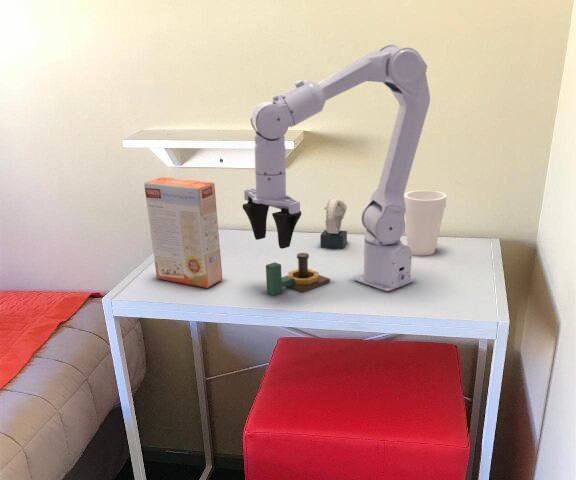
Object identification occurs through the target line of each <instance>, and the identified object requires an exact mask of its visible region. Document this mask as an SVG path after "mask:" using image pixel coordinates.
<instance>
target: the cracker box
mask: <svg viewBox="0 0 576 480" xmlns="http://www.w3.org/2000/svg"><path fill="white" fill-rule="evenodd" d="M143 185H144V192H145V193H144V194H145V200H146V208H147V215H148V222H149V229H150V238H151V245H152V246H151V247H152V252H153V253H152V254H153V259H154V267H155V273H156V278H157V279H158V280H164V281H169V282H172V283H173V282H174V283H179V284H185V285H190V286H194V287H199V288H205V289H209V288H210V287H212V286H214V285H215V284H218V283H220V282H221V281H223V267H222V255H221V248H220V247H221V246H220V245H221V244H220V234H219V233H220V232H219V222H218V210H217V199H216V187H215V182H212V181H201V180H191V179H182V178H173V177H172V178H171V177H163V176H162V177H157V178H153V179H151V180H148V181H145V182H144V183H143Z"/></svg>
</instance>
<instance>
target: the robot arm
mask: <svg viewBox="0 0 576 480" xmlns="http://www.w3.org/2000/svg"><path fill="white" fill-rule="evenodd" d="M427 71H428V65H427V63H426V61H425V60H424V58H423V57H422V55H421V54H420V53H419V51H417V49H415V48H413V47H410V46H407V47H406V46H404V47H402V46H397V45H394V44H387V45H384V46H383V47H381V48H380V49H379V50H378V49H376V50H373V51H370V52H368V53H366V54H365V55H363V56H361V57H360V58H357V59H356V60H355V61H353V62H351V63H349V64H348V65H346V66H345V67H343V68H341V69H340V70H338V71H336V72H334V73H333V74H331V75H329V76H328V77H326V78H324V79H323V80H321V81H319V82H315V81H312V80H310V79H308V80H305V81H304V80H302V79H300V80H298V81H296V82H295V83H294V85H295V87H293V88H291V89H289V90H287V91H285V92H284V93H282V94H280V95H278V94H274V95H272V96H271V100H272V102H271V101H263V102H261V103H259V104H257V105H256V106H255V108H254V110H253V111H252V114H251V117H250V119H249V120H250V125H251V127H252V129H253V130H254V131H255V132H254V169H255V170H254V174H255V175H254V176H255V188H248V189H244V190H243V192H244V193H243V195H244V197H243V198H244V201H247V203H243V204H242V209H243V211H244V213H245V214H246V216H247V218H248V221H249V223H250V226H251V230H252V233H253V236H254V239H255V240H257V241H258V240H259V241H260V240H262V239H265V238H266V236H267V221H268V213H269V209H270V207H272V208H275V209H279V210H280V211H275V212H272V213H271V215H272V218H273V221H274V223H275V226H276V232H277V242H278V247H279V249H281V250H283V249H287V248H290V246H291V243H292V238H293V234H294V231H295V228H296V226H297V223H298V222H299V220H300V218H301V216H302V211H301V202H300V201H297V200H295V199H294V198H292V197H290V196H289V195H288V194H287V168H286V167H287V166H286V165H287V163H286V160H287V159H286V146H285V145H286V144H285V143H286V142H285V141H286V140H285V136H286V134H287V132H288V131H289V128H293V127H295V126H297V125H298V124H300V123H302V122H304V121H306V120H308V119H310V118H312V117H313V116H315V115H317V114H319V113H321V112H323V109H324V107H325V104H326V102H327V101H328V100H330V99H332V98H334V97H336V96H338V95H340V94H343V93H344V92H346V91H348V90H351V89H353V88H355V87H356V86H359V85H361V84H363V83H365V82H372V83H373V82H374V83H382V84H384V85H385V86H386V87H387V88H389V90H390V91H391V93H392V94H393V96H394V97H395V99H396V101H397V103H398V104H399V106H398V109H397V114H396V118H395V121H394V125H393V129H392V132H391V135H390V136H391V137H390V140H389V144H388V148H387V152H386V156H385V159H384V160H385V161H384V163H383V167H382V171H381V175H380V178H379V182H378V186H377V188H376V189H375V191H373V193H372V194H371V196H370V199H369V202H368V204H367V205H366V206H365V207H364V209H363V210H362V213H361V224H362V226H363V227H364V228H365V230H366V231H365V234H364V241H363V242H364V243H363V250H364V251H363V274H362V275H359V276H356V277H354V281H355V282H358V283H361V284H364V285H367V286H370V287H373V288H375V289H378V290H381V291H385V292H391V291H393V290H395V289H398V288H401V287H403V286H406V285H408V284H411V283H412V282H413V279H412V278H411V273H412V272H411V271H412V255H413V254H411V250H410V248H409V247H408V246H407V244H406V245H405V244H404V243H403V242H402V241H401V238H402V237H403V236H404V233H405V231H406V219H405V211H406V206H405V200H404V194H405V193H406V189H407V185H408V181H409V178H410V175H411V170H412V167H413V163H414V160H415V156H416V153H417V149H418V146H419V143H420V138H421V135H422V132H423V128H424V125H425V121H426V118H427V114H428V110H429V108H430V103H431V94H430V89H429V83H428V77H427Z"/></svg>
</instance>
